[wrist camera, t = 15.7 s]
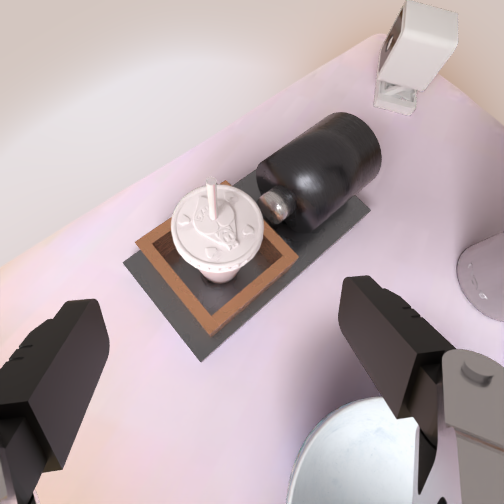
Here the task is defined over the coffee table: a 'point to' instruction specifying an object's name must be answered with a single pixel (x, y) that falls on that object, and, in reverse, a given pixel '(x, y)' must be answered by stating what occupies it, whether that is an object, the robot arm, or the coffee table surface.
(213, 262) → the smoothie
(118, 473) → the coffee table surface
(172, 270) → the motor mount
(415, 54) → the security camera
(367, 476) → the chinaware
